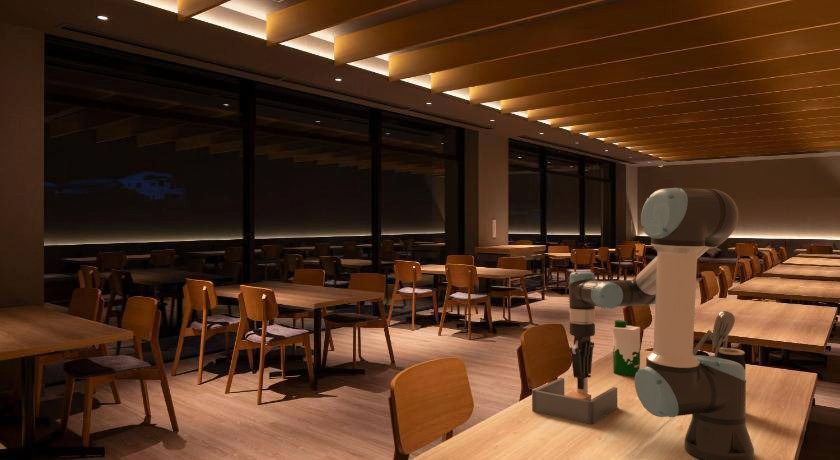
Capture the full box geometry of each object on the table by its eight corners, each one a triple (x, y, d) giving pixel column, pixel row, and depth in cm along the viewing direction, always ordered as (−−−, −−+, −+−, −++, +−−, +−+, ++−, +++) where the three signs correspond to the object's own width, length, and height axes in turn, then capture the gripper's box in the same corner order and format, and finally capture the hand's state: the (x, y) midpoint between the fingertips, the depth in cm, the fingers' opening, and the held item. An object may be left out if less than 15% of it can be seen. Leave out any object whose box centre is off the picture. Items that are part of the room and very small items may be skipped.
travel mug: (726, 416, 161) (727, 353, 161) (708, 407, 169) (708, 347, 169) (751, 415, 162) (752, 353, 162) (731, 406, 170) (732, 347, 170)
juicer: (672, 389, 177) (706, 302, 170) (709, 402, 175) (745, 314, 167) (677, 403, 168) (713, 312, 161) (716, 417, 165) (754, 325, 158)
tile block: (582, 412, 165) (582, 399, 165) (563, 408, 169) (563, 395, 169) (591, 407, 170) (591, 394, 170) (572, 404, 173) (572, 391, 173)
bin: (591, 424, 155) (591, 402, 155) (532, 410, 167) (532, 390, 167) (617, 407, 170) (617, 387, 170) (560, 396, 181) (560, 377, 181)
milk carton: (618, 371, 213) (617, 319, 213) (642, 375, 208) (642, 321, 208) (610, 376, 206) (610, 322, 206) (635, 380, 201) (635, 324, 201)
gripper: (579, 318, 180) (579, 392, 179) (561, 323, 170) (561, 401, 170) (602, 320, 175) (602, 396, 175) (584, 326, 165) (585, 406, 165)
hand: (582, 398), depth 172 cm, fingers closed
